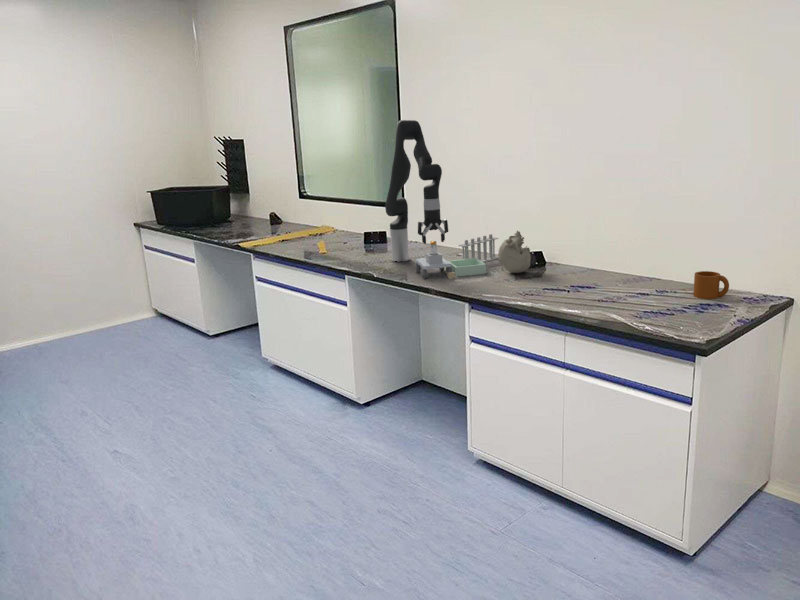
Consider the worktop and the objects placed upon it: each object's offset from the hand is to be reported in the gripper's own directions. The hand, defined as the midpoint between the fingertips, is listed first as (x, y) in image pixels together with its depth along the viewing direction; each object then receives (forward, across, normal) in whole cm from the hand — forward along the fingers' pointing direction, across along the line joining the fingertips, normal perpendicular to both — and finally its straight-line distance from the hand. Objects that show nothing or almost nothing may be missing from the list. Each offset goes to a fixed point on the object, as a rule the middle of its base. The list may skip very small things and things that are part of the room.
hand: (433, 242), depth 293 cm
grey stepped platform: (+16, 0, -2) cm, 16 cm away
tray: (+16, -16, -1) cm, 23 cm away
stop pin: (+10, 0, 0) cm, 10 cm away
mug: (+17, -89, +78) cm, 119 cm away
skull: (+16, -36, +11) cm, 41 cm away
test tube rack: (+16, -28, -17) cm, 37 cm away
